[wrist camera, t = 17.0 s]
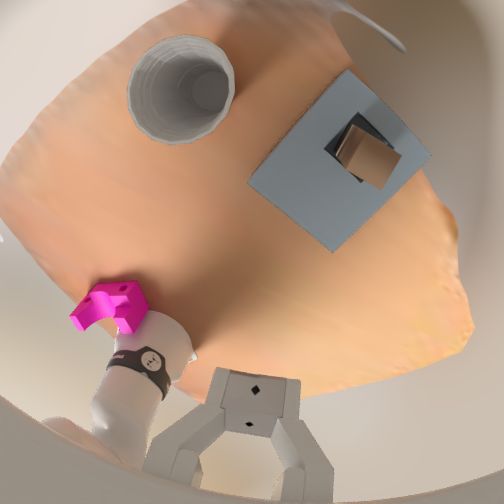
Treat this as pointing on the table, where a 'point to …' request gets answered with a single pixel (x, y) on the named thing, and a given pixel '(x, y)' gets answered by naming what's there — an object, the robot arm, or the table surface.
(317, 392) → the table surface
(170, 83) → the plastic cup
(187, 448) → the robot arm
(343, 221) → the socket board
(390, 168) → the walnut peg
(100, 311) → the toy block
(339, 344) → the table surface
